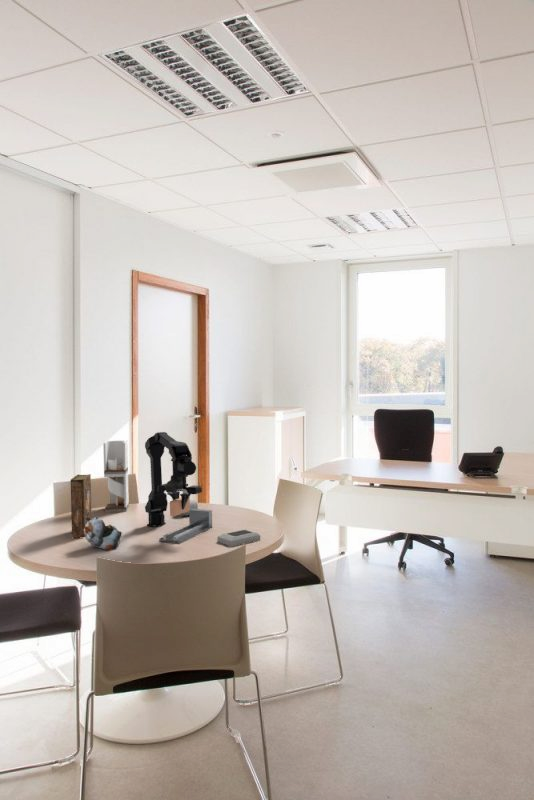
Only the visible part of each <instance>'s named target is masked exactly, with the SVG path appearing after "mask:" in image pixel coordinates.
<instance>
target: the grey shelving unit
mask: <svg viewBox="0 0 534 800" xmlns="http://www.w3.org/2000/svg"><path fill="white" fill-rule="evenodd" d="M128 445H129V443H128V440H106V441H104V442H103V477H104V478H107V490H108V491H109V503H107V504H106V506H105V507H104V512H105V513H112V512H113V513H114V512H115V513H116V512H119V513H120V512H127V511H128V509H129V507H130V502H129V501H130V499H129V496H130V495H129V452H128V448H129V447H128Z"/></svg>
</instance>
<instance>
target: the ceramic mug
mask: <svg viewBox="0 0 534 800" xmlns="http://www.w3.org/2000/svg"><path fill="white" fill-rule="evenodd" d="M190 509H199V506H198V503H197V501H196V500H194V499H190ZM178 516H180V517H184V516H185V517H186V516H189V511H187V512H185V513H182V514H179V515H178Z"/></svg>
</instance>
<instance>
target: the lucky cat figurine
mask: <svg viewBox="0 0 534 800" xmlns="http://www.w3.org/2000/svg"><path fill="white" fill-rule="evenodd" d="M86 520H87V521H86V526H85V527H84V535H85V540H86V541H87V543H89V544H90V546H91V547H92V546H93V547H96V548H98V549H102V550H105V551H112V550H116V548H118V547H120V545H121V538H122V533H123V532H122V531H119V530H118V528H116V526H114V525H112V524H108V525H106V524H105V522H104V520H103V519H100V518H99V517H97V516H96V517H93V519H90V518H87V519H86ZM111 549H112V550H111Z"/></svg>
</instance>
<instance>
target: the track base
mask: <svg viewBox="0 0 534 800" xmlns="http://www.w3.org/2000/svg"><path fill="white" fill-rule="evenodd" d="M188 516H189V519H188V520H189V524H186V525H184V526H182V527H179V528H178V529H175V530H172V531H171V532H169V533H166V534H164V535H162V536H163V537H160V538H158V541H159V542H162V541H165V542H164V543H171V542H175V543H174V544H182V543H184V542H186V541H188V540H190V539H192V538H194V537H196V535H197V536H199V535H200V533H201V534H203V533H205V532H207V531H209V530H211V529H212V528H213V510H212V509H203V508H202V509H201V508H198V509H190V511H189V515H188ZM210 528H211V529H210ZM208 529H209V530H208ZM206 530H207V531H206ZM204 531H205V532H204ZM202 532H203V533H202ZM198 534H199V535H198ZM181 542H182V543H181Z"/></svg>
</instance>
